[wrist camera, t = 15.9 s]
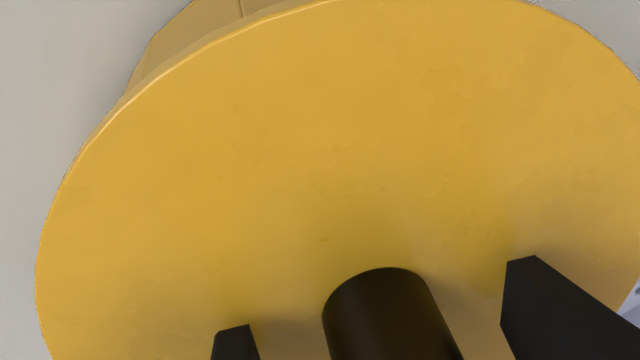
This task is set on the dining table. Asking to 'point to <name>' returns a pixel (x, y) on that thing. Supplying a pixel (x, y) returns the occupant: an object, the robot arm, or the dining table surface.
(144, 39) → the dining table surface
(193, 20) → the tin
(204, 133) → the tin lid
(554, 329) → the robot arm
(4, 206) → the dining table surface
